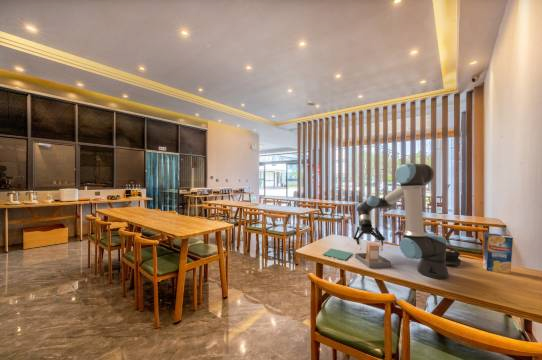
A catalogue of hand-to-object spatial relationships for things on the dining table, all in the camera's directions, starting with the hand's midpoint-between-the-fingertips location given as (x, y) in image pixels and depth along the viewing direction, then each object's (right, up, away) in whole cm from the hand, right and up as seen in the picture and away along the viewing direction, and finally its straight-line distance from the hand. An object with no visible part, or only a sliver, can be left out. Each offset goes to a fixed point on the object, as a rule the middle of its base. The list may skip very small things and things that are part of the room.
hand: (371, 249), depth 155 cm
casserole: (+52, -9, +5) cm, 53 cm away
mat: (-19, -7, +11) cm, 23 cm away
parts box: (0, -8, -1) cm, 8 cm away
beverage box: (+73, -10, -10) cm, 75 cm away
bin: (0, -8, -1) cm, 8 cm away
